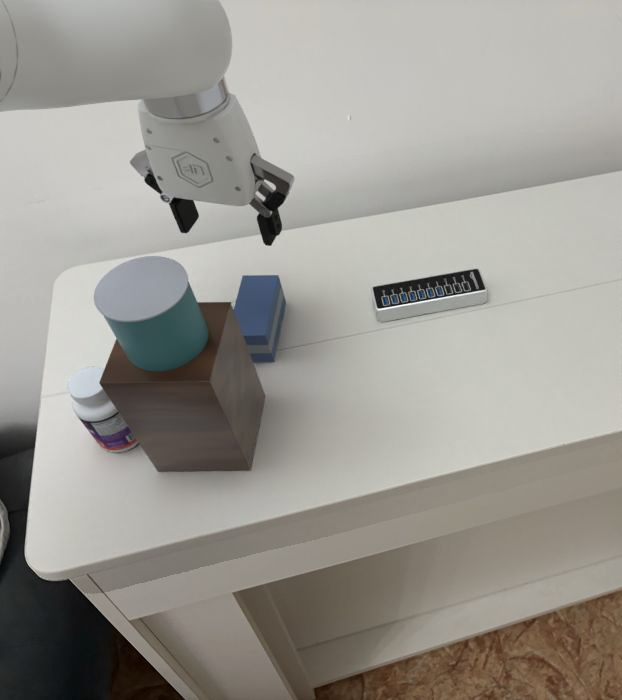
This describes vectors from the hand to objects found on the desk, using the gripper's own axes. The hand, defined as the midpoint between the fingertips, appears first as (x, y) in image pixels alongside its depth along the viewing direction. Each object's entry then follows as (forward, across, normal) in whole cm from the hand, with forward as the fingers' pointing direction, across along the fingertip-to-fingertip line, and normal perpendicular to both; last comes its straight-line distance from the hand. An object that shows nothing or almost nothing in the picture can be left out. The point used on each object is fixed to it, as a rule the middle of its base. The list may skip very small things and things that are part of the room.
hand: (231, 231), depth 78 cm
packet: (+16, 0, -1) cm, 16 cm away
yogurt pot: (0, +1, -16) cm, 16 cm away
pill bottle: (+16, -9, -18) cm, 26 cm away
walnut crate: (+16, +1, -16) cm, 23 cm away
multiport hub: (+16, +20, +9) cm, 27 cm away
